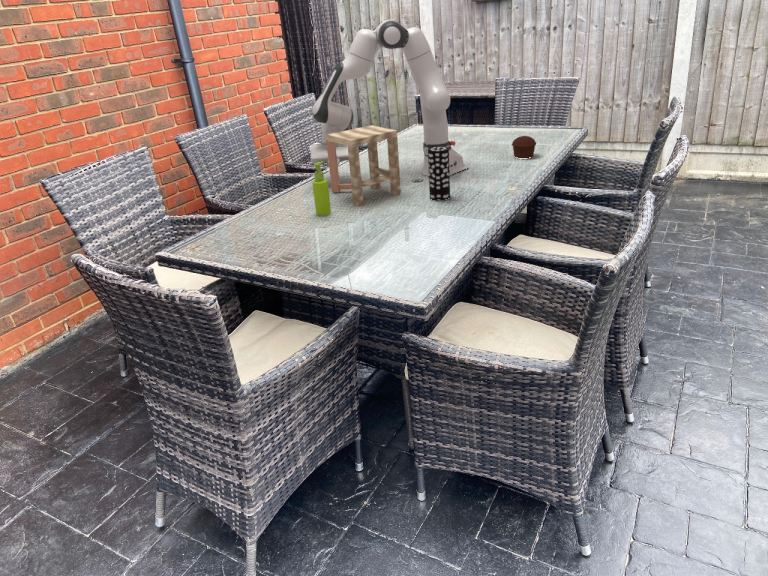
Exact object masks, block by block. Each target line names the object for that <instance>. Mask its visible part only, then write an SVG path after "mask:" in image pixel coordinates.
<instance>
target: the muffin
mask: <svg viewBox="0 0 768 576" xmlns="http://www.w3.org/2000/svg"><path fill="white" fill-rule="evenodd" d="M536 146H537V142H536V140H535V139H534V138H533V137H531V136H529V135H528V136H527V135H521V136H518V137H516V138H514V140H513V141H512V143H511V147H512V149H513V157H514V156H515V157H518V158H529V157H532V156H533V157H534V154H535V148H536ZM515 157H514V158H515Z"/></svg>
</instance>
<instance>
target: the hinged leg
mask: <svg viewBox="0 0 768 576" xmlns="http://www.w3.org/2000/svg"><path fill="white" fill-rule="evenodd" d="M326 144H327V152H328V161H329V164H328V168H329V169H328V170H329V176H330V177H329V178H330V185H331V187H330V188H331V193H340V191H341V190H352V185H351V183H340V174H339V165H338V164H337V155H336V145H335V142H331V141H328V138H327V139H326Z"/></svg>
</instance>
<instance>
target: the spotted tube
mask: <svg viewBox="0 0 768 576" xmlns="http://www.w3.org/2000/svg"><path fill="white" fill-rule="evenodd" d="M428 166H429V176H428V183H429V184H428V185H429V186H428V187H429V189H428V190H429V200H431V199H432V200H431V201H433V200H445V199H448V198H450V199H451V177H450V167H449V148H448V147H444V146H437V147H431V148H429V149H428ZM448 200H449V199H448ZM445 201H446V200H445Z"/></svg>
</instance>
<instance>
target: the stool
mask: <svg viewBox="0 0 768 576" xmlns="http://www.w3.org/2000/svg"><path fill="white" fill-rule="evenodd" d="M327 137H328V141H331V142H335V143H338V144H342V145H346V146H348V155H349V160H348V164H349V173H350V184H351V185H352V189H351V193H352V203H353V204H352V205H353V206H354V207H355V206H356V207H361V206H364V204H365V203H364V195H363V194H364V192H363V188H364V187H365V188H366V187H369V186H370V188H371V189H378V188H381V183H384V182H387V181H389V184H390V194H391V196H392V195H393V196H395V195H396V196H399V195H401V194H402V191H401V190H402V189H401V173H400V160H399V146H398V145H399V143H398V130H397V129H393V128H387V127H382V126H376V125H367V126H362V127H358V128H357V127H356V128H352V129H348V130H347V129H346V130H344V131H341V132H337V133H332V134H328V135H327ZM384 140H386V142H387V155H388V159H387V160H388V168H389V169H385V168H381V167H380V165H379V164H380V163H379V152H378V142H379V141H384ZM362 145H367V157H368V168H369V179H366V180H365V179H364V180H362V172H361V171H362V170H361V161H360V153H359V152H360V149H359V146H362ZM380 175H381V176H380Z"/></svg>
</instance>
